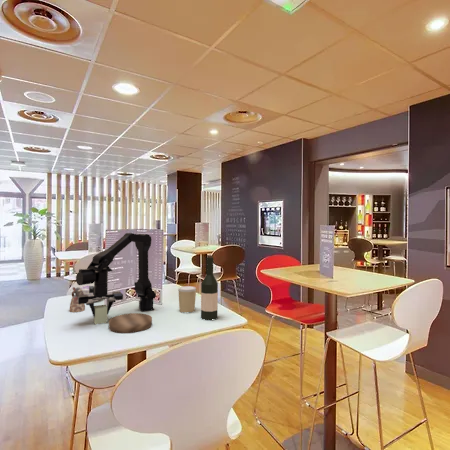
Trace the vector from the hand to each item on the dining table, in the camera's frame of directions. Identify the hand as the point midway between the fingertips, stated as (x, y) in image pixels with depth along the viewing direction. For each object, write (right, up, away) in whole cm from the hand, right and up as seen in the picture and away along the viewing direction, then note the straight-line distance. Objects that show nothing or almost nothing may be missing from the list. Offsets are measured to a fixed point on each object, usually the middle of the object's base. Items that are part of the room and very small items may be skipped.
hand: (100, 316), depth 138 cm
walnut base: (+15, -3, -5) cm, 16 cm away
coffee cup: (+37, -3, +20) cm, 42 cm away
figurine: (-19, -3, +18) cm, 26 cm away
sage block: (0, -3, 0) cm, 2 cm away
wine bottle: (+49, -3, +8) cm, 50 cm away
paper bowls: (-22, -3, +38) cm, 44 cm away
